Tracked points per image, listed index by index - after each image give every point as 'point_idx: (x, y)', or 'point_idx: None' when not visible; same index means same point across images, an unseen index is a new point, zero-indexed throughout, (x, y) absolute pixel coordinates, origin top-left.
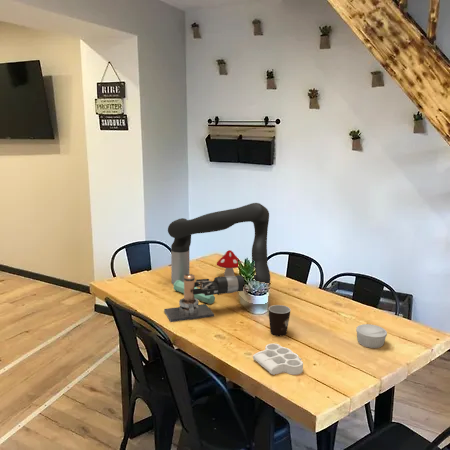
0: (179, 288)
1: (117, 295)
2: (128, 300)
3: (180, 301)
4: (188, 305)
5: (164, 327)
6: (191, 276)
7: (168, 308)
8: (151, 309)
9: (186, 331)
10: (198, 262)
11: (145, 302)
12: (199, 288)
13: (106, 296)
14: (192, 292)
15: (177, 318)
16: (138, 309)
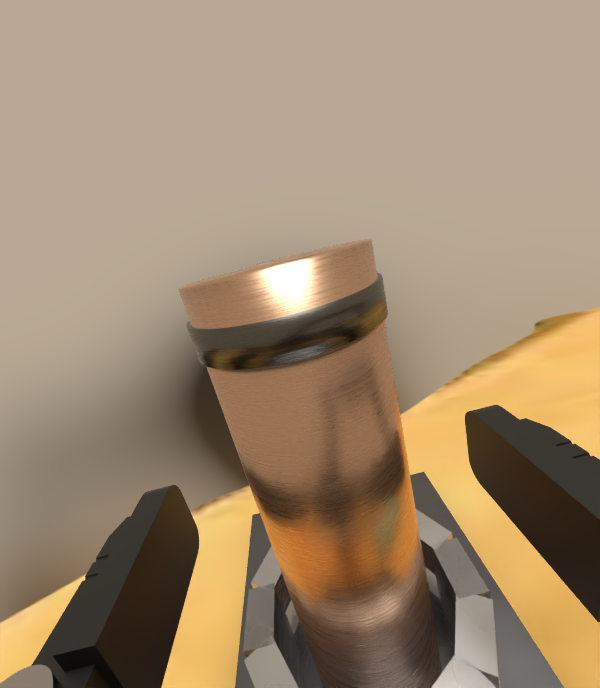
0: None
1: (577, 331)
2: (536, 359)
3: None
4: (255, 588)
5: (210, 503)
6: (217, 278)
7: (435, 493)
8: (447, 433)
9: None
10: None
11: (545, 400)
12: (113, 592)
13: (544, 321)
14: (269, 536)
15: (250, 554)
16: (436, 398)
